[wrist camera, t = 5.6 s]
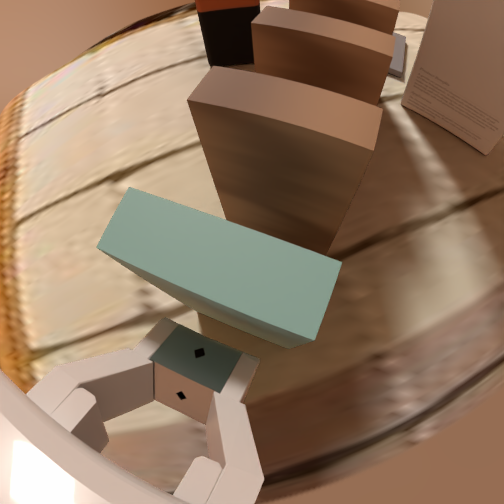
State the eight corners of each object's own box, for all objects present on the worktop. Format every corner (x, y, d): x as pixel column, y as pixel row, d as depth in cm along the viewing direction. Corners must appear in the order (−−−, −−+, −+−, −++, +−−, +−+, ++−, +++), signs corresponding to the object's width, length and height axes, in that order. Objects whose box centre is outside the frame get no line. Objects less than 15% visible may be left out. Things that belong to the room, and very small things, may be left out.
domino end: (300, 319, 15) (342, 262, 6) (288, 348, 15) (314, 340, 6) (209, 283, 16) (129, 187, 7) (197, 311, 16) (96, 247, 6)
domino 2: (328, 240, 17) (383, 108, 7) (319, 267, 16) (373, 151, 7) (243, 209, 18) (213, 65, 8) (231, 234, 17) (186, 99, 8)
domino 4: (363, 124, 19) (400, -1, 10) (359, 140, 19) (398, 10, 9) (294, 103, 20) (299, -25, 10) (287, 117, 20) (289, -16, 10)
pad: (404, 41, 22) (405, 36, 22) (400, 77, 21) (402, 72, 20) (317, 15, 24) (317, 11, 24) (297, 46, 22) (297, 41, 22)
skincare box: (491, 115, 19) (564, -12, 5) (485, 162, 18) (591, 12, 3) (412, 67, 21) (456, -80, 6) (393, 104, 20) (450, -81, 5)
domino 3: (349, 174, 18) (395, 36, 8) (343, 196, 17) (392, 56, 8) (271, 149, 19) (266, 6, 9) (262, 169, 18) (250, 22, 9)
